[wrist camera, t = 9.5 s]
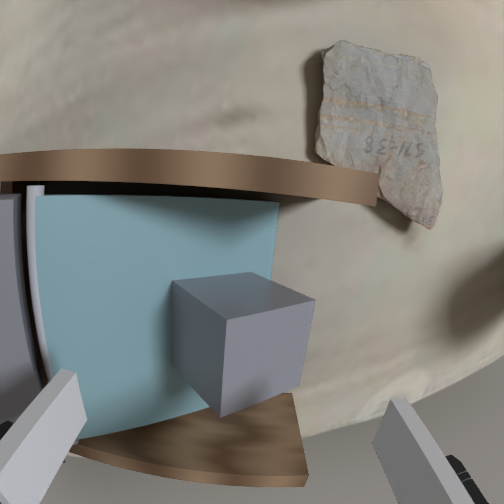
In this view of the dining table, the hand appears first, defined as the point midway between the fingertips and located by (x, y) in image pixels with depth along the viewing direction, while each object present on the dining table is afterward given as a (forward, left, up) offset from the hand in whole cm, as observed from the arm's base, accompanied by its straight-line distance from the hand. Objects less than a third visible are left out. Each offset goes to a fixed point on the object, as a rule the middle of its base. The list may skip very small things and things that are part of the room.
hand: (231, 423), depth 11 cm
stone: (+10, +16, -15) cm, 24 cm away
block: (-2, 0, -10) cm, 10 cm away
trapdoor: (-9, 0, -9) cm, 12 cm away
